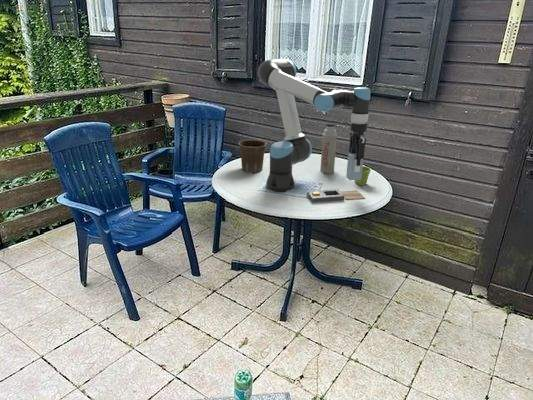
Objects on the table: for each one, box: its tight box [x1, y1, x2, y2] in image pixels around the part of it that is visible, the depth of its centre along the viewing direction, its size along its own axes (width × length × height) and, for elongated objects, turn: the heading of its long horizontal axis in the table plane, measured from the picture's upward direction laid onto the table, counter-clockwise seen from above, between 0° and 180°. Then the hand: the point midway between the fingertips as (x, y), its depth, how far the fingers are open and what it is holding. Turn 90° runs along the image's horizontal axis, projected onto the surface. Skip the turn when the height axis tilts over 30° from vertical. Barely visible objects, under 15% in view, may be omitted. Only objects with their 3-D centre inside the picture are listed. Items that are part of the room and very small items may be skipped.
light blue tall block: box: [345, 153, 365, 181], centre depth 191 cm, size 4×6×12 cm
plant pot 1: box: [238, 139, 268, 174], centre depth 231 cm, size 16×16×16 cm
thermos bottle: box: [319, 123, 338, 174], centre depth 228 cm, size 8×8×28 cm
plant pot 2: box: [354, 165, 372, 186], centre depth 213 cm, size 9×9×9 cm
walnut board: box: [339, 190, 366, 201], centre depth 197 cm, size 10×10×1 cm
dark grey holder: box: [306, 188, 345, 203], centre depth 194 cm, size 9×16×4 cm, turn 101°
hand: (354, 169), depth 192 cm, fingers closed on light blue tall block, 4 cm apart
